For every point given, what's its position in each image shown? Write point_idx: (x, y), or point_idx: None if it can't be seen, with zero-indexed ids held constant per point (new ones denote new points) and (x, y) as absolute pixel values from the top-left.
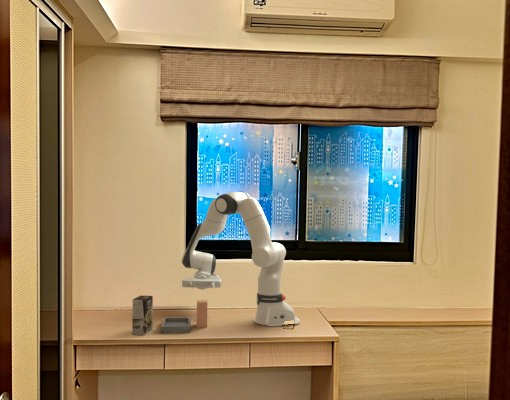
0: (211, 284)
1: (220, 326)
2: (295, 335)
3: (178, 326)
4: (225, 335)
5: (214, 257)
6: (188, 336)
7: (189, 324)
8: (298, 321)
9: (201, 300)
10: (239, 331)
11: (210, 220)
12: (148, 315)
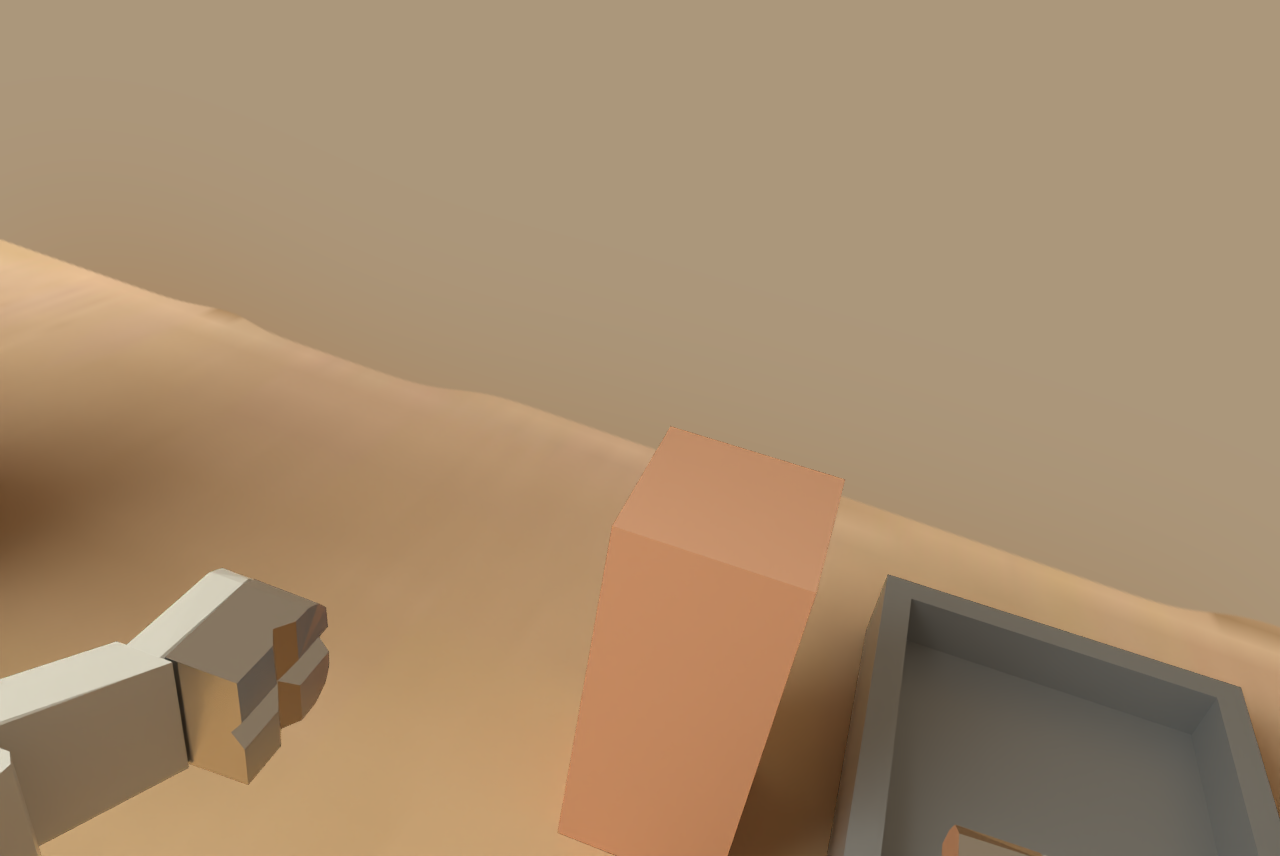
0: (255, 584)
1: (430, 674)
2: (21, 266)
3: (1021, 619)
4: (543, 451)
5: None
6: (888, 552)
7: (885, 624)
8: None
9: (735, 535)
10: (349, 472)
11: None
12: None
